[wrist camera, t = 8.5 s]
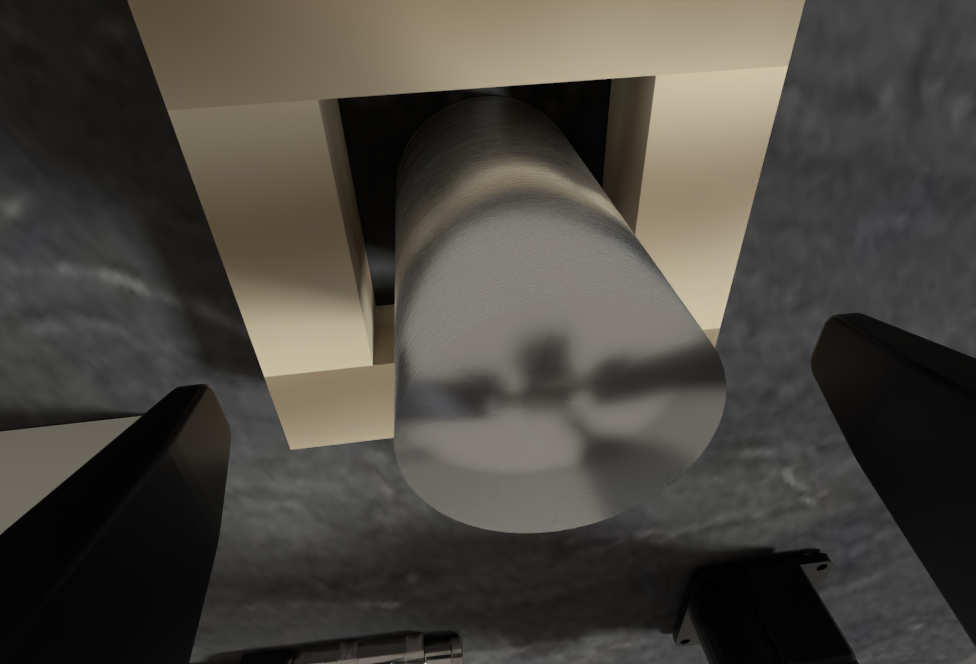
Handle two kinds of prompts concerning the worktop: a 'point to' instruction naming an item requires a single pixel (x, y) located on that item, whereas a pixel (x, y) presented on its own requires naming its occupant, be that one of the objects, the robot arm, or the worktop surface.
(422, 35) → the pocket plate
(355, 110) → the worktop surface
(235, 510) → the worktop surface
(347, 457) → the worktop surface
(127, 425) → the box
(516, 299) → the cylinder
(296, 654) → the micrometer
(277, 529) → the worktop surface
